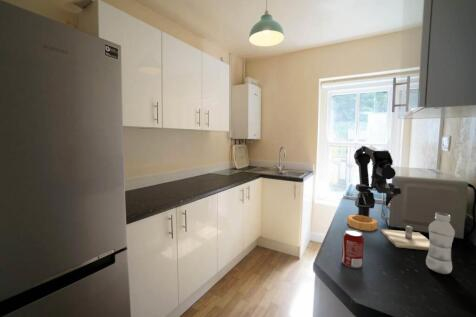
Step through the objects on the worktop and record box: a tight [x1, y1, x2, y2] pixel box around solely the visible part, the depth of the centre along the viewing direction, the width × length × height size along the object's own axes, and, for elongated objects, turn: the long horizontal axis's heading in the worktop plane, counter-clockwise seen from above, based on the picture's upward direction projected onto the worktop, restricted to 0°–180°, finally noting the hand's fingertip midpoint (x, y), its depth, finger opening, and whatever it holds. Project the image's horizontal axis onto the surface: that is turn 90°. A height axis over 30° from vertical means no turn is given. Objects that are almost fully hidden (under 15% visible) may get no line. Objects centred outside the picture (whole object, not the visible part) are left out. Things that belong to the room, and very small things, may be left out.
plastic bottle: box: [425, 212, 456, 275], centre depth 74 cm, size 6×7×20 cm
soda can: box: [341, 228, 365, 269], centre depth 78 cm, size 7×7×12 cm
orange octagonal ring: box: [346, 214, 378, 232], centre depth 115 cm, size 13×13×4 cm
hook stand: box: [380, 225, 430, 251], centre depth 98 cm, size 16×16×6 cm
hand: (376, 205), depth 110 cm, fingers open, 9 cm apart
